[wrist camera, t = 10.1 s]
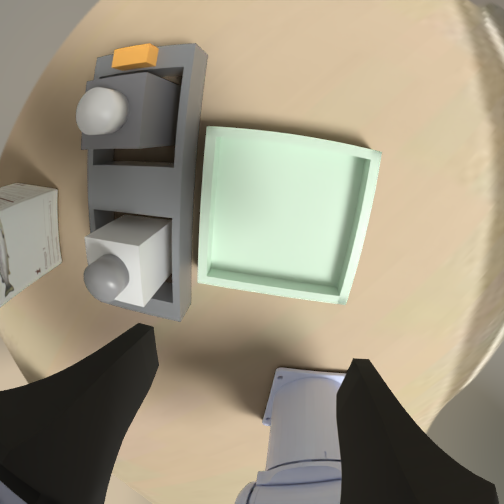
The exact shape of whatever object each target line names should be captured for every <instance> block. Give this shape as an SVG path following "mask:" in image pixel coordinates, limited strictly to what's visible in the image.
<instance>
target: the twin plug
mask: <svg viewBox="0 0 504 504" xmlns="http://www.w3.org/2000/svg"><path fill="white" fill-rule="evenodd" d="M85 246H86V254H87V261H88V266H87V267H86V269H85V271H84V282H85V285H86V287H87V289H88V291H89V292H90V293H91V294H92V296H94V297H95V298H96V299H98V300H99V301H102V302H111V301H113V300H118V301H121V302H125V303H129V304H133V305H137V306H141V307H144V306H145V305H146V304H147V303H148V301H149V300H150V299H151V298H152V296H153V295H154V294H155V293H156V291H157V290H158V289H159V288H160V286H161V285H162V284H163V283H164V282H165V280H166V279H167V278H168V277H169V275H170V274H171V273H172V220H165V219H158V218H149V217H141V216H133V215H123V216H121V217H119V218H117V219H115V220H114V221H112V222H110V223H108V224H106V225H104V226H103V227H101V228H99V229H97V230H96V231H94V232H92V233H90V234H89V235H87V236H85Z"/></svg>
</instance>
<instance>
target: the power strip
mask: <svg viewBox="0 0 504 504" xmlns="http://www.w3.org/2000/svg"><path fill="white" fill-rule="evenodd" d="M207 58H208V55H207V54H206V53H205V52H204V51H203V50H202V49H201V48H200V47H199V46H198V45H197V44H196V43H195V44H180V45H169V46H160V47H155V46H153V45H152V44H150V43H149V44H142V45H136V46H131V47H125V48H120V49H115V50H114V54H112V55H107V56H103V57H99V58H97V63H96V68H95V75H94V80H97V79H102V78H108V77H114V76H120V75H127V74H135V73H143V72H148V73H151V74H153V75H156V76H158V77H171V76H183V78H182V85H181V93H180V102H179V111H178V121H177V132H176V144H175V159H174V163H164V162H139V161H113V158H114V149H88V167H87V171H88V206H89V221H90V233H92V232H94V231H96V230H97V229H99V228H101V227H103V226H104V225H106V224H108V223H110V222H112V221H114V211H115V212H124V213H133V214H142V215H150V216H158V217H167V218H172V283H168V282H164V283H163V284H162V285H161V286H160V288H159V289H158V290H157V291H156V293H155V294H154V295H153V296H152V298H151V299H150V300H149V301H148V303H147V304H146V305H145V306H144V307H141V306H137V305H133V304H129V303H125V302H121V301H118V300H113V301H111V302H104V303H107V304H111V305H114V306H118V307H121V308H125V309H129V310H133V311H137V312H141V313H144V314H149V315H153V316H157V317H161V318H165V319H170V320H174V321H178V322H181V320H182V319H183V317H184V315H185V313H186V312H187V310H188V308H189V306H190V305H191V258H192V225H193V203H194V185H195V170H196V157H197V145H198V134H199V124H200V114H201V105H202V96H203V88H204V80H205V73H206V65H207ZM100 302H102V301H100Z"/></svg>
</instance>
